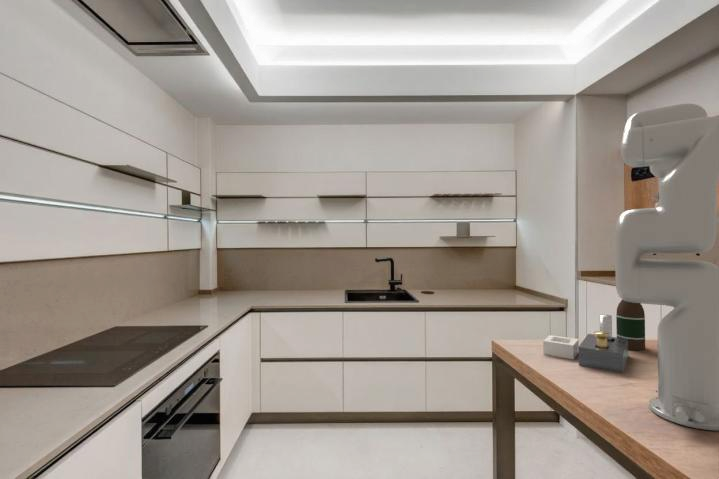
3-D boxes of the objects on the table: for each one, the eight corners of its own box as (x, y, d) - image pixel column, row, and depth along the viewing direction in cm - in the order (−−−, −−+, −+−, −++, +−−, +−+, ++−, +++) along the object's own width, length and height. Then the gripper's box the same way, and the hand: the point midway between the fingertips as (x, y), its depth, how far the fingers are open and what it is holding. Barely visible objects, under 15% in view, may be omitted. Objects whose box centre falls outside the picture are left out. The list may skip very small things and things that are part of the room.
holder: (573, 362, 106) (573, 345, 106) (543, 357, 112) (543, 340, 112) (578, 355, 113) (578, 339, 113) (549, 350, 118) (549, 335, 118)
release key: (609, 358, 99) (608, 335, 99) (593, 356, 101) (593, 333, 101) (610, 355, 102) (610, 332, 102) (595, 352, 104) (595, 330, 104)
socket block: (623, 377, 95) (622, 353, 95) (578, 368, 102) (578, 347, 102) (628, 359, 108) (627, 338, 108) (588, 352, 115) (588, 333, 115)
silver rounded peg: (611, 358, 106) (611, 317, 106) (599, 356, 108) (598, 315, 108) (612, 355, 109) (612, 315, 109) (600, 353, 111) (600, 314, 111)
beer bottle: (622, 353, 114) (621, 275, 113) (611, 346, 121) (610, 273, 121) (651, 355, 112) (650, 276, 112) (638, 347, 119) (637, 273, 119)
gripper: (637, 198, 111) (638, 255, 112) (716, 193, 100) (717, 256, 100) (639, 200, 117) (639, 254, 117) (714, 195, 106) (715, 255, 106)
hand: (675, 255), depth 109 cm, fingers open, 9 cm apart
